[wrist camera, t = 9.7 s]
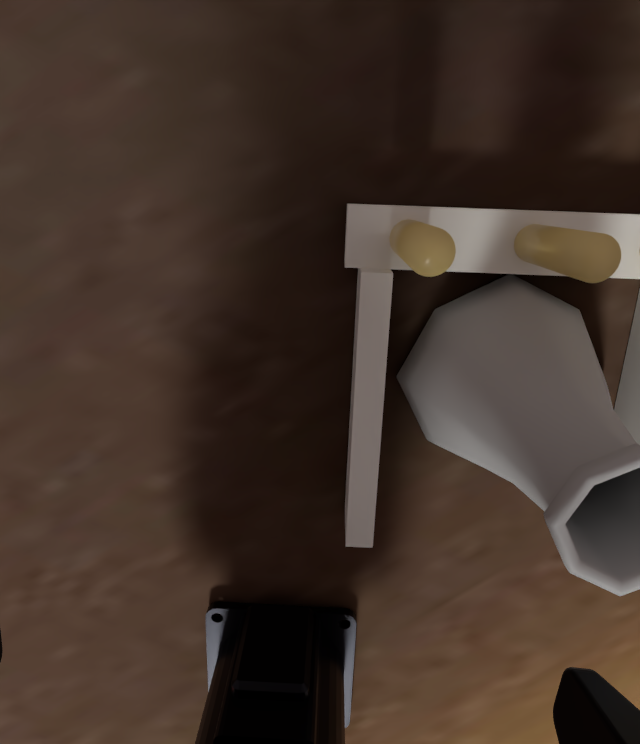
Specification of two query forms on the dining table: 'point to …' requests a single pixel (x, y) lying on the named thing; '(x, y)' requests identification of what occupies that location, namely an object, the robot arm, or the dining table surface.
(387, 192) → the dining table surface
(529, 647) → the dining table surface
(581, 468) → the flask
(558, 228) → the wall peg rack
